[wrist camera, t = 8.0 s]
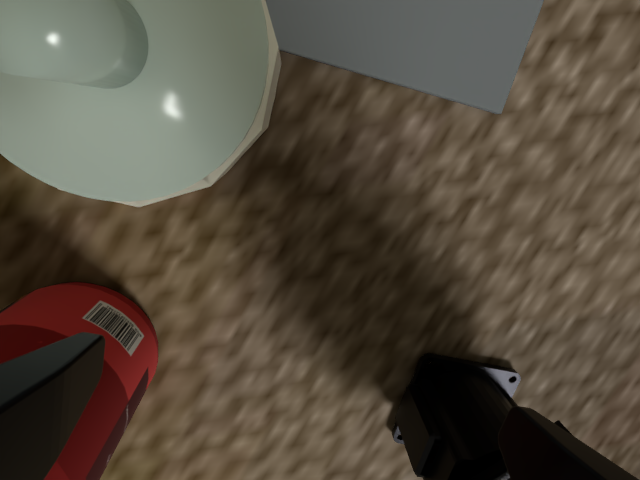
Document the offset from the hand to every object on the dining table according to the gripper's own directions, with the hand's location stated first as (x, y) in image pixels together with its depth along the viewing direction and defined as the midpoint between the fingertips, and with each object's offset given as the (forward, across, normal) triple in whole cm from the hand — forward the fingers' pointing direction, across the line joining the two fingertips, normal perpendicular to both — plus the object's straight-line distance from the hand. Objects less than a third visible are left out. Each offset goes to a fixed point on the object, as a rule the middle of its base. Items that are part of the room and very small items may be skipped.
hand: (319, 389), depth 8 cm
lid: (+8, +8, -6) cm, 12 cm away
